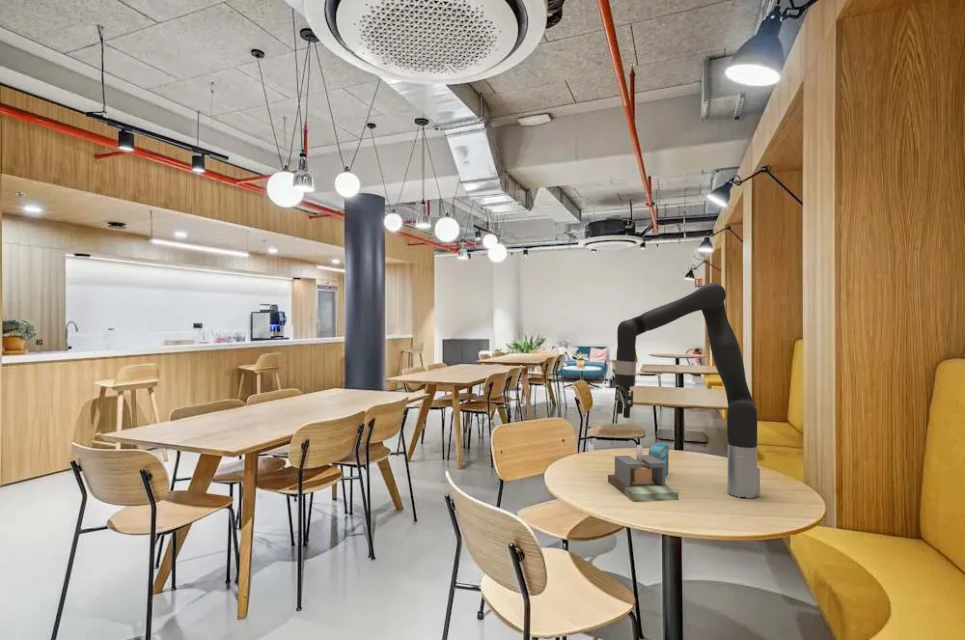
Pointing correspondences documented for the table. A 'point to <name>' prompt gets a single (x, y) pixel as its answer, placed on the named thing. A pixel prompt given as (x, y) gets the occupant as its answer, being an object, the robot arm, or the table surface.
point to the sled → (640, 471)
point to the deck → (645, 491)
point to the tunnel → (628, 462)
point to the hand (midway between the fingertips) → (622, 415)
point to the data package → (660, 454)
